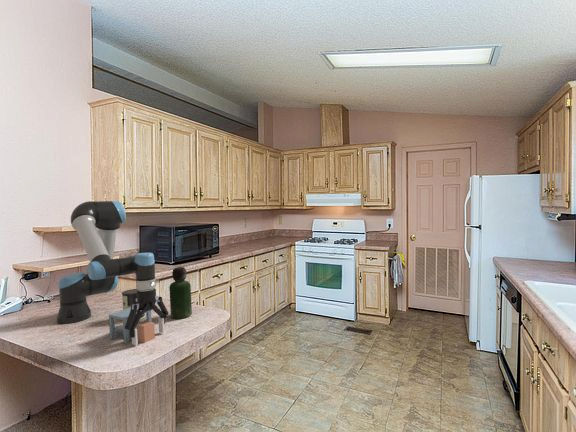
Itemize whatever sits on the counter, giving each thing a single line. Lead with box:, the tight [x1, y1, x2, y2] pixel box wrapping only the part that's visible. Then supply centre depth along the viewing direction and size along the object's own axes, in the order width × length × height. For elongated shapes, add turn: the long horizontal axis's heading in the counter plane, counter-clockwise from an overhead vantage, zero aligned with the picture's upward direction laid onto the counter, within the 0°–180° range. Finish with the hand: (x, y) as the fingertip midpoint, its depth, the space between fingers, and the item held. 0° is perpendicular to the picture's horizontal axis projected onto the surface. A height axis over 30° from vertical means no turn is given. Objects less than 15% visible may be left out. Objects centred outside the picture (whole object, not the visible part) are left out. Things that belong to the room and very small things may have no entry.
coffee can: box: [121, 288, 146, 321], centre depth 167 cm, size 10×10×14 cm
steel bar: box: [115, 324, 132, 339], centre depth 145 cm, size 18×4×3 cm, turn 59°
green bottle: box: [168, 266, 193, 320], centre depth 168 cm, size 10×10×25 cm
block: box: [136, 320, 156, 344], centre depth 139 cm, size 5×5×7 cm
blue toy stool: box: [108, 307, 153, 343], centre depth 145 cm, size 11×13×10 cm
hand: (148, 338), depth 140 cm, fingers open, 13 cm apart
